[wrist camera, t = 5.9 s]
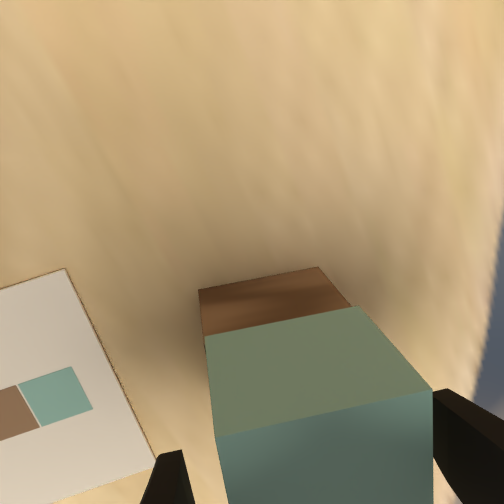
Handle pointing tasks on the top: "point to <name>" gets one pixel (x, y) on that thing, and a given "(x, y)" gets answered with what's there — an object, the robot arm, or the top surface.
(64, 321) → the page
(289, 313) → the walnut block
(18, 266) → the top surface
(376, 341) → the teal block
